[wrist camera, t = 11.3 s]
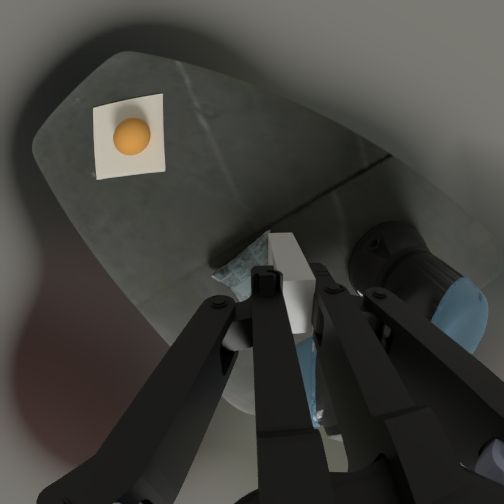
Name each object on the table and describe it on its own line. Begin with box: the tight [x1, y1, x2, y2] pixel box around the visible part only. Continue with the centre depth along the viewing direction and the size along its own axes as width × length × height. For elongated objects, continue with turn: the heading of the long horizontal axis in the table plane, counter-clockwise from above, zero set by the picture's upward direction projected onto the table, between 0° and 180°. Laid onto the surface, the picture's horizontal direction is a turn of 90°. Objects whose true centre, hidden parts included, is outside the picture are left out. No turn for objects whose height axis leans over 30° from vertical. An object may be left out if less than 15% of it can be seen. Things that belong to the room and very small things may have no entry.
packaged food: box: [212, 229, 271, 302], centre depth 43 cm, size 9×12×5 cm
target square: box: [93, 93, 166, 180], centre depth 37 cm, size 12×12×1 cm
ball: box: [113, 118, 151, 155], centre depth 34 cm, size 6×6×6 cm
